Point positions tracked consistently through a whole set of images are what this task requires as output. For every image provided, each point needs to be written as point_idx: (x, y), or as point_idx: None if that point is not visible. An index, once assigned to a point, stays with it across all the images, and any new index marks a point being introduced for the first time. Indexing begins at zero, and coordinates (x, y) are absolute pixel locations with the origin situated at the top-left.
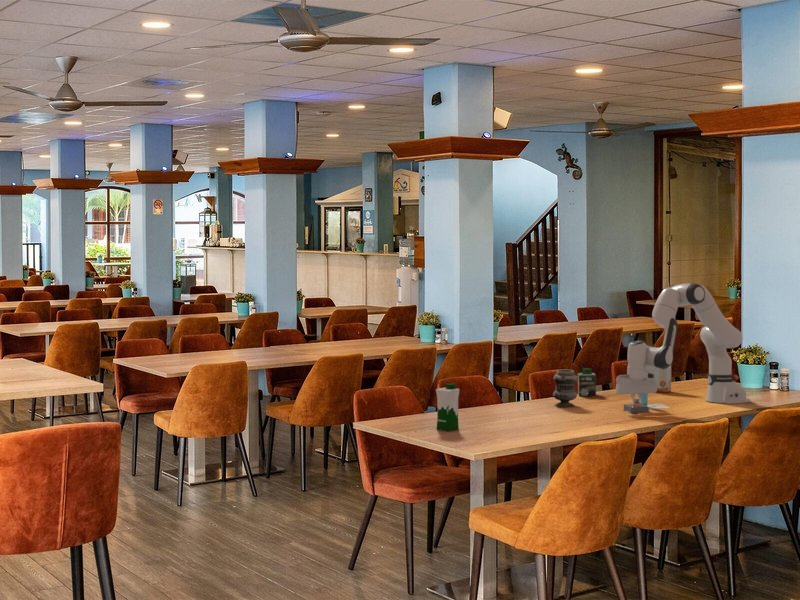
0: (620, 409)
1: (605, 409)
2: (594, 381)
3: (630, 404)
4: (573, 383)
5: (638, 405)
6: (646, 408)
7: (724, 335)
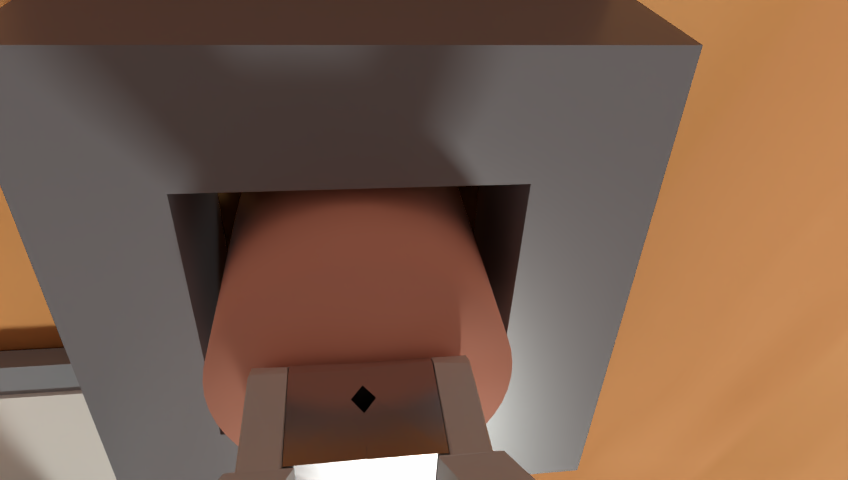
0: None
1: (756, 452)
2: None
3: None
4: None
5: (337, 223)
6: (75, 26)
7: None
